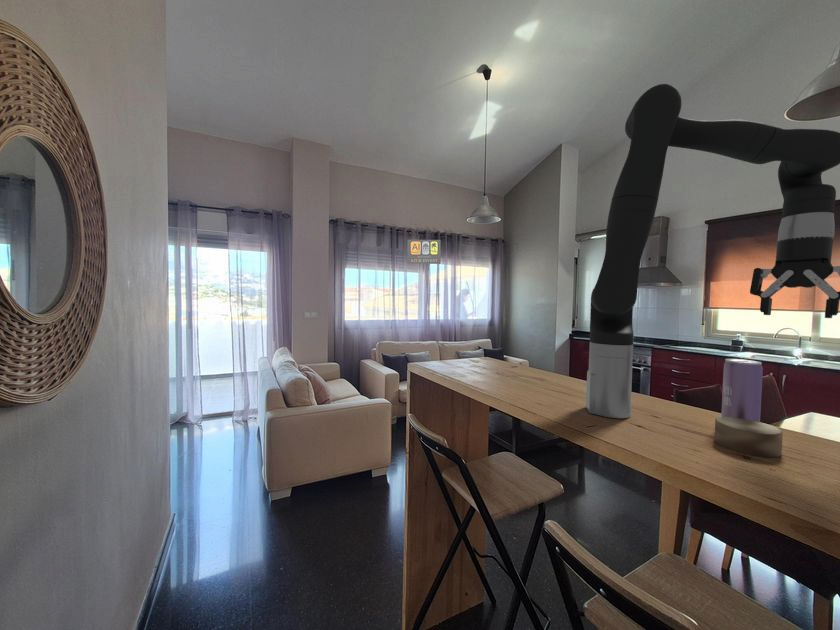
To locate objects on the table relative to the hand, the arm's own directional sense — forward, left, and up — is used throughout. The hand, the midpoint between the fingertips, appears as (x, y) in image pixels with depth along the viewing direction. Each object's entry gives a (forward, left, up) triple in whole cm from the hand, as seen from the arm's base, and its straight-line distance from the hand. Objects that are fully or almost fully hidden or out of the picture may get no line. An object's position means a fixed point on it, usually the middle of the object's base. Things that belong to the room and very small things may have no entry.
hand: (796, 316), depth 68 cm
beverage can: (-9, -1, -25) cm, 27 cm away
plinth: (-13, -12, -25) cm, 31 cm away
